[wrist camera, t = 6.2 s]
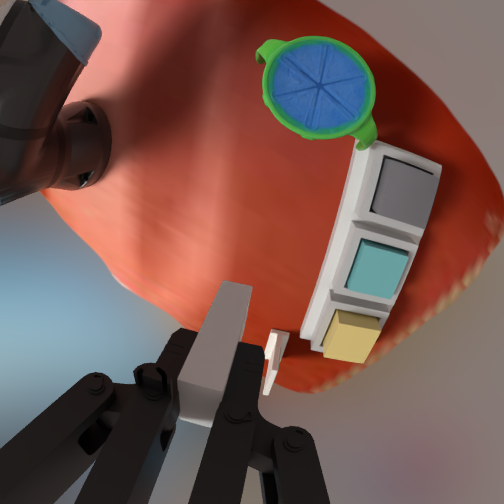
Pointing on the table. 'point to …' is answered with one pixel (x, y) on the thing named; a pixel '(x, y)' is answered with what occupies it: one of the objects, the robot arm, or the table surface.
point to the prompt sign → (274, 355)
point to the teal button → (376, 269)
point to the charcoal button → (404, 193)
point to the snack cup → (319, 88)
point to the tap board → (348, 237)
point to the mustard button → (350, 336)
